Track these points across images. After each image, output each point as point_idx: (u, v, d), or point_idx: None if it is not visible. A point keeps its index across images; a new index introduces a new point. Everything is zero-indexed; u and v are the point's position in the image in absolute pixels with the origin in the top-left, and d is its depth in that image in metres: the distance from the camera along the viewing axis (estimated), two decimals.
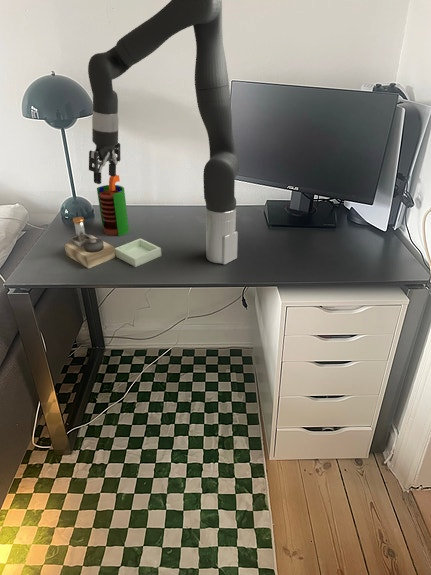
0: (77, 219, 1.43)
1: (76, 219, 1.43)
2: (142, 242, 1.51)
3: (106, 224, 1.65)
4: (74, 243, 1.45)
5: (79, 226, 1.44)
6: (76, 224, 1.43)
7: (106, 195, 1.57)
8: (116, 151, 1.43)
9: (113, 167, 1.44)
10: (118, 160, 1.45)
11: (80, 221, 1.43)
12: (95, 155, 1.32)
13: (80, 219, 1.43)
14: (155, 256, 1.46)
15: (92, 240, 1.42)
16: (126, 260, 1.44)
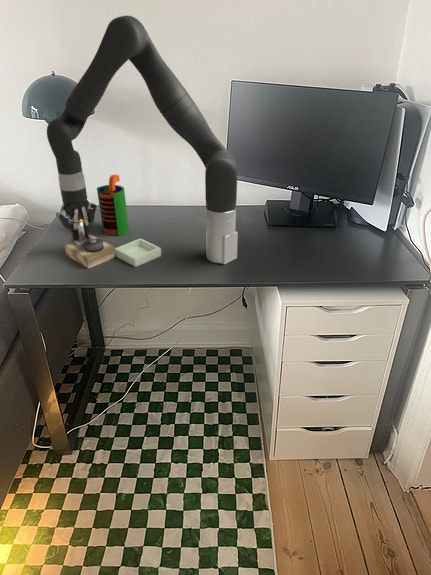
0: None
1: None
2: (142, 242, 1.51)
3: (106, 224, 1.65)
4: (74, 243, 1.45)
5: (79, 226, 1.44)
6: None
7: (106, 195, 1.57)
8: (90, 211, 1.45)
9: (84, 228, 1.46)
10: (89, 220, 1.46)
11: (80, 221, 1.43)
12: (60, 218, 1.38)
13: (80, 219, 1.43)
14: (155, 256, 1.46)
15: (92, 240, 1.42)
16: (126, 260, 1.44)
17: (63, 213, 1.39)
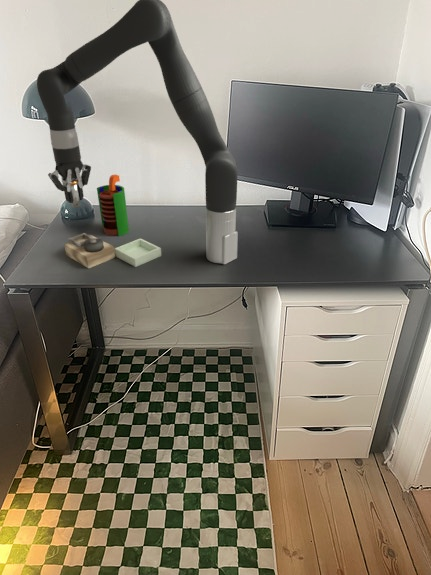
0: None
1: None
2: (142, 242, 1.51)
3: (106, 224, 1.65)
4: (74, 243, 1.45)
5: (73, 189, 1.37)
6: None
7: (106, 195, 1.57)
8: (85, 173, 1.39)
9: (78, 190, 1.39)
10: (84, 182, 1.39)
11: (74, 183, 1.36)
12: (53, 178, 1.31)
13: (74, 181, 1.37)
14: (155, 256, 1.46)
15: (92, 240, 1.42)
16: (126, 260, 1.44)
17: (56, 173, 1.32)
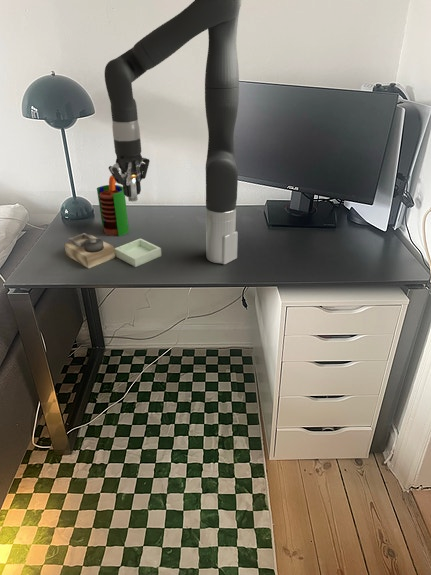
0: None
1: None
2: (142, 242, 1.51)
3: (106, 224, 1.65)
4: (74, 243, 1.45)
5: (132, 182, 1.34)
6: None
7: (106, 195, 1.57)
8: (143, 166, 1.36)
9: (136, 184, 1.36)
10: (142, 176, 1.36)
11: (133, 176, 1.33)
12: (113, 171, 1.28)
13: (133, 174, 1.33)
14: (155, 256, 1.46)
15: (92, 240, 1.42)
16: (126, 260, 1.44)
17: (116, 166, 1.29)
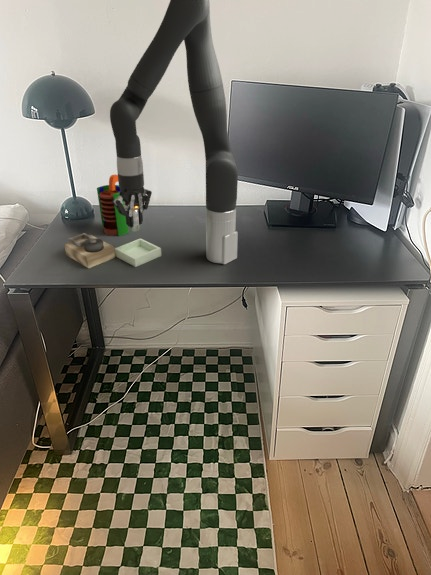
0: None
1: None
2: (142, 242, 1.51)
3: (106, 224, 1.65)
4: (74, 243, 1.45)
5: (134, 213, 1.39)
6: None
7: (106, 195, 1.57)
8: (145, 198, 1.41)
9: None
10: (144, 207, 1.41)
11: (135, 208, 1.38)
12: (117, 204, 1.33)
13: (135, 206, 1.38)
14: (155, 256, 1.46)
15: (92, 240, 1.42)
16: (126, 260, 1.44)
17: (120, 199, 1.34)
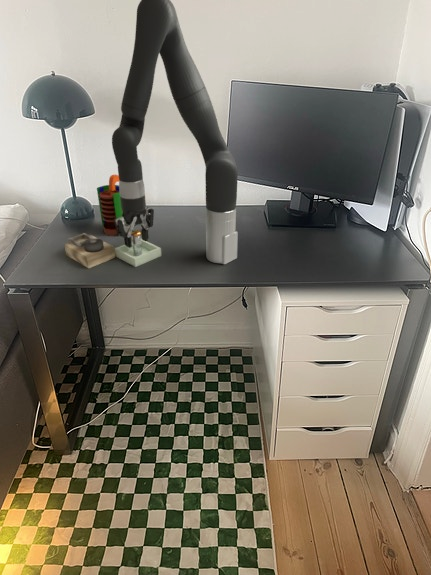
0: (135, 232, 1.43)
1: (134, 232, 1.43)
2: (142, 242, 1.51)
3: (106, 224, 1.65)
4: (74, 243, 1.45)
5: (137, 239, 1.43)
6: (134, 237, 1.43)
7: (106, 195, 1.57)
8: (149, 216, 1.44)
9: (144, 232, 1.45)
10: (150, 225, 1.45)
11: (138, 234, 1.42)
12: (118, 223, 1.36)
13: (138, 232, 1.43)
14: (155, 256, 1.46)
15: (92, 240, 1.42)
16: (126, 260, 1.44)
17: (122, 219, 1.37)
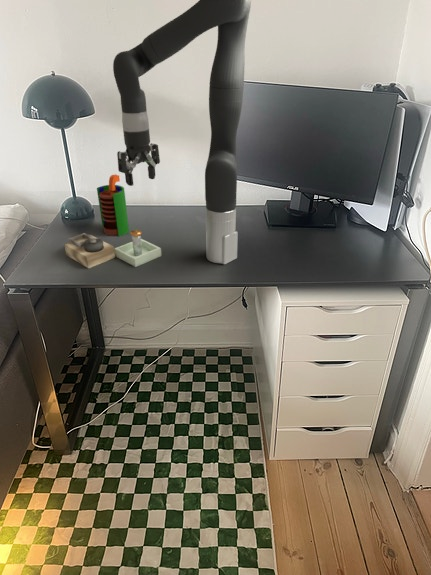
0: (135, 232, 1.43)
1: (134, 232, 1.43)
2: (142, 242, 1.51)
3: (106, 224, 1.65)
4: (74, 243, 1.45)
5: (137, 239, 1.43)
6: (134, 237, 1.43)
7: (106, 195, 1.57)
8: (154, 153, 1.39)
9: (151, 169, 1.41)
10: (157, 162, 1.41)
11: (138, 234, 1.42)
12: (122, 156, 1.30)
13: (138, 232, 1.43)
14: (155, 256, 1.46)
15: (92, 240, 1.42)
16: (126, 260, 1.44)
17: (125, 153, 1.32)
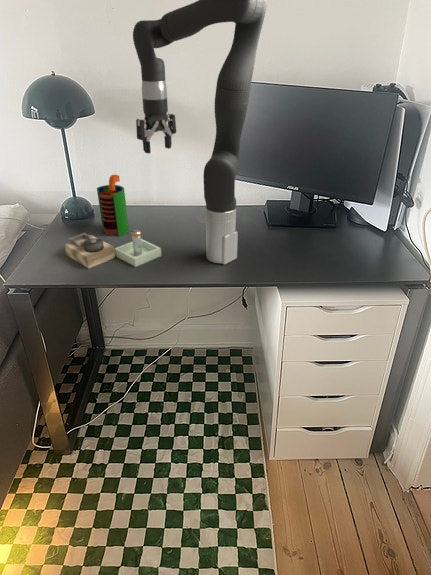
0: (135, 232, 1.43)
1: (134, 232, 1.43)
2: (142, 242, 1.51)
3: (106, 224, 1.65)
4: (74, 243, 1.45)
5: (137, 239, 1.43)
6: (134, 237, 1.43)
7: (106, 195, 1.57)
8: (171, 123, 1.45)
9: (167, 139, 1.46)
10: (173, 132, 1.46)
11: (138, 234, 1.42)
12: (140, 123, 1.36)
13: (138, 232, 1.43)
14: (155, 256, 1.46)
15: (92, 240, 1.42)
16: (126, 260, 1.44)
17: (144, 121, 1.37)
